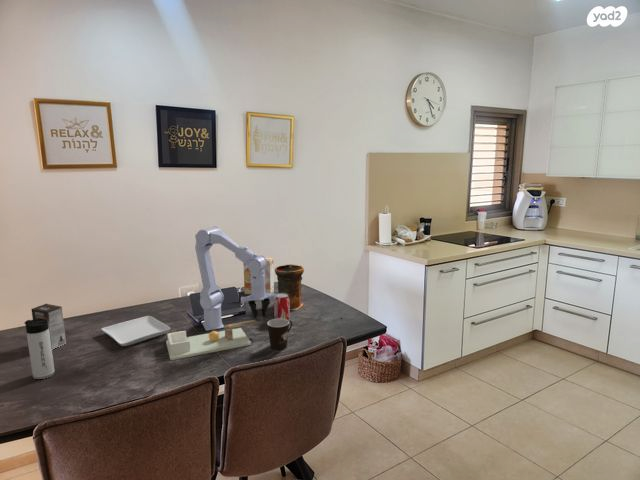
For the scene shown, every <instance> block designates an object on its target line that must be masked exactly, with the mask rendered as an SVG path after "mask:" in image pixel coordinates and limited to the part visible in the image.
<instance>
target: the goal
mask: <svg viewBox="0 0 640 480" xmlns="http://www.w3.org/2000/svg"><path fill="white" fill-rule="evenodd" d="M166 334H167V335H166V336H167V341H168V345H169V349H170V353H171V355H172V354H178V353H183V352H188V351H190V341H189V340H188V341H187V337H188V336H187V331H186V330H183V331H182V330H181V331H175V332H170V333H168V332H167V333H166Z"/></svg>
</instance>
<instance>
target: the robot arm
mask: <svg viewBox="0 0 640 480" xmlns="http://www.w3.org/2000/svg"><path fill="white" fill-rule="evenodd" d="M194 236H195V245H194V246H195V248H194V249H195V253H196V259H197V262H198V269H199V273H200V278H201V282H202V289H201V291H200V293H199V295H200V299H199V303H200V307H201V308H202V309H203V317H204V318H203V320H204V321H202V322H201V323H202V326H203V329H205V331H215V330H219V329H225V325H224V323H223V321H222V303H223V302H224V300H225V296H224V293H223V292H222V290H221V286H219V285H218V284H217V282H216V277H215V272H214V268H213V262H212V258H211V252H210V249H211V248H212V247H213V245H215V244H216V245H217V244H220V245H221V246H223V247H224V248H226V249H227V250H229V251H231V252H232V253H234V256H235V258H236V259H238V260H239V261H240V262H242V263H243V264H244V263H245V264H246V265H247V266H248V269H249V270H250V275H251V292H252V294H249V295H247V296H246V295H245V296H242V297H240V303H241V304H245V303H247V304H248V305H249V307H250V310H251V313H252V317H253V319H256V309H257V304H256V302H259V301H261V309H263V318H265V317H266V314H267V310H268V308H269V306H270V303H271V301H270V299H273V300H274V299H276V294H277V293H275V292H273V293H265V269H264V268H266V266H267V260H266V259H265V258H266V257H265V256H264V255H258V253H254V251H252V250H250V248H249V247H248V246H245V245H242V246H240V245H239V244H237V243H236V242H235V241H234V240H232V238H230V237H229V236H228V235H227V234H226V233H225V232H224V230H223V229H220V228H219V227H218V226H212V227H208V228H205V229H200V230H198V231H197V233H196V234H195V235H194Z"/></svg>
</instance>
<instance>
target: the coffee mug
mask: <svg viewBox="0 0 640 480" xmlns="http://www.w3.org/2000/svg"><path fill="white" fill-rule="evenodd" d="M266 325H267V330H268V337H269V343H270V344H269V346H270V349H271V350H273V351H282V350H285V349H286V348H287V347H288V337H289V332H290V331H291V329H292V327H293V322H292V320H286V319H280V318H279V319H275V318H274V319H273V318H272V319H270V320H268V321H267V323H266Z"/></svg>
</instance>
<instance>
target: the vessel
mask: <svg viewBox="0 0 640 480" xmlns="http://www.w3.org/2000/svg"><path fill="white" fill-rule="evenodd" d="M304 272H305V269H304V267H303V266H302V265H298V264H294V263H293V264H292V263H291V264H284V265H279V266H276V267H275V268H274V273H275V275H276V278H277V290H278V291H277V294H279V293H285V294H288V297H289V302H290V311H291V310H293V311H294V310H298V309H300V308H301V307H303V306H304V302H302V297H301V296H302V281H303V276H302V275H303V274H304ZM301 303H302V304H301Z"/></svg>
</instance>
